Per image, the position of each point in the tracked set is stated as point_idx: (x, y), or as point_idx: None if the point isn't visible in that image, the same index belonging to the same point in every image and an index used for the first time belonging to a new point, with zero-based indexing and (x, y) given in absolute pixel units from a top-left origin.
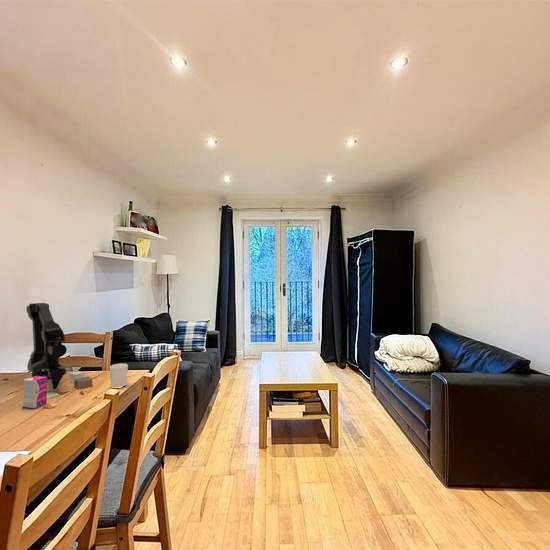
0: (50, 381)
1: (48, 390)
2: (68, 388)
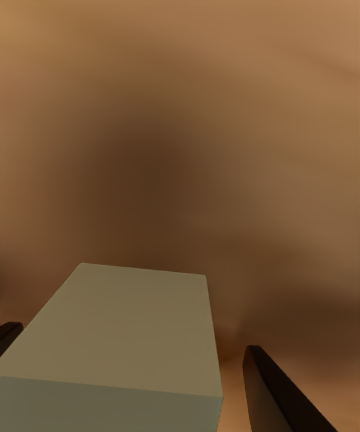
0: (20, 422)
1: (73, 279)
2: None
